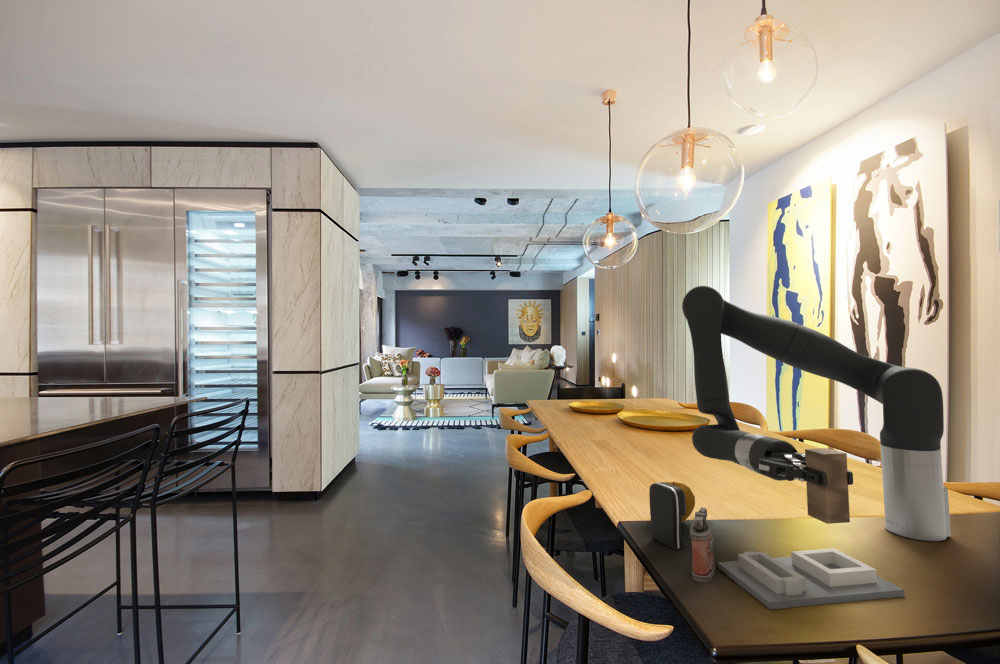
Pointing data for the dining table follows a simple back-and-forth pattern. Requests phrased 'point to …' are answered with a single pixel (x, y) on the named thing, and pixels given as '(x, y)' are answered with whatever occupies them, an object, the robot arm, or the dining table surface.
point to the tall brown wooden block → (828, 486)
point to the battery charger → (667, 513)
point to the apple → (688, 497)
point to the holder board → (807, 578)
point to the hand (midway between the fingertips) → (837, 479)
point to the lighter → (702, 547)
